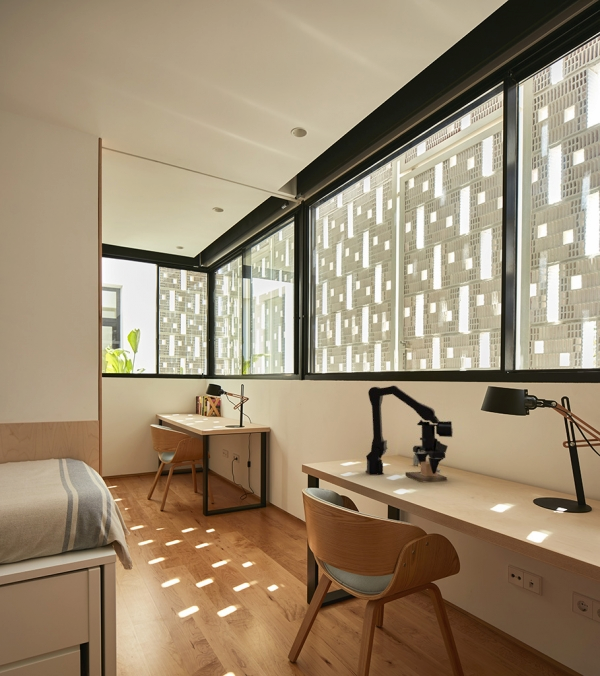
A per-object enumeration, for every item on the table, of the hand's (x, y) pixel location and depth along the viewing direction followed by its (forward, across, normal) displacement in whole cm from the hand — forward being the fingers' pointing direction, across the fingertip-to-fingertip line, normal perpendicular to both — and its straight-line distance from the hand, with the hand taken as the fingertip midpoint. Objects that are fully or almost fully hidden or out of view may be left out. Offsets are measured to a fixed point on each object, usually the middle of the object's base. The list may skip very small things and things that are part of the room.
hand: (428, 471), depth 204 cm
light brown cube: (+1, 0, 0) cm, 1 cm away
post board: (+3, 0, +2) cm, 3 cm away
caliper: (+3, +20, -10) cm, 22 cm away
